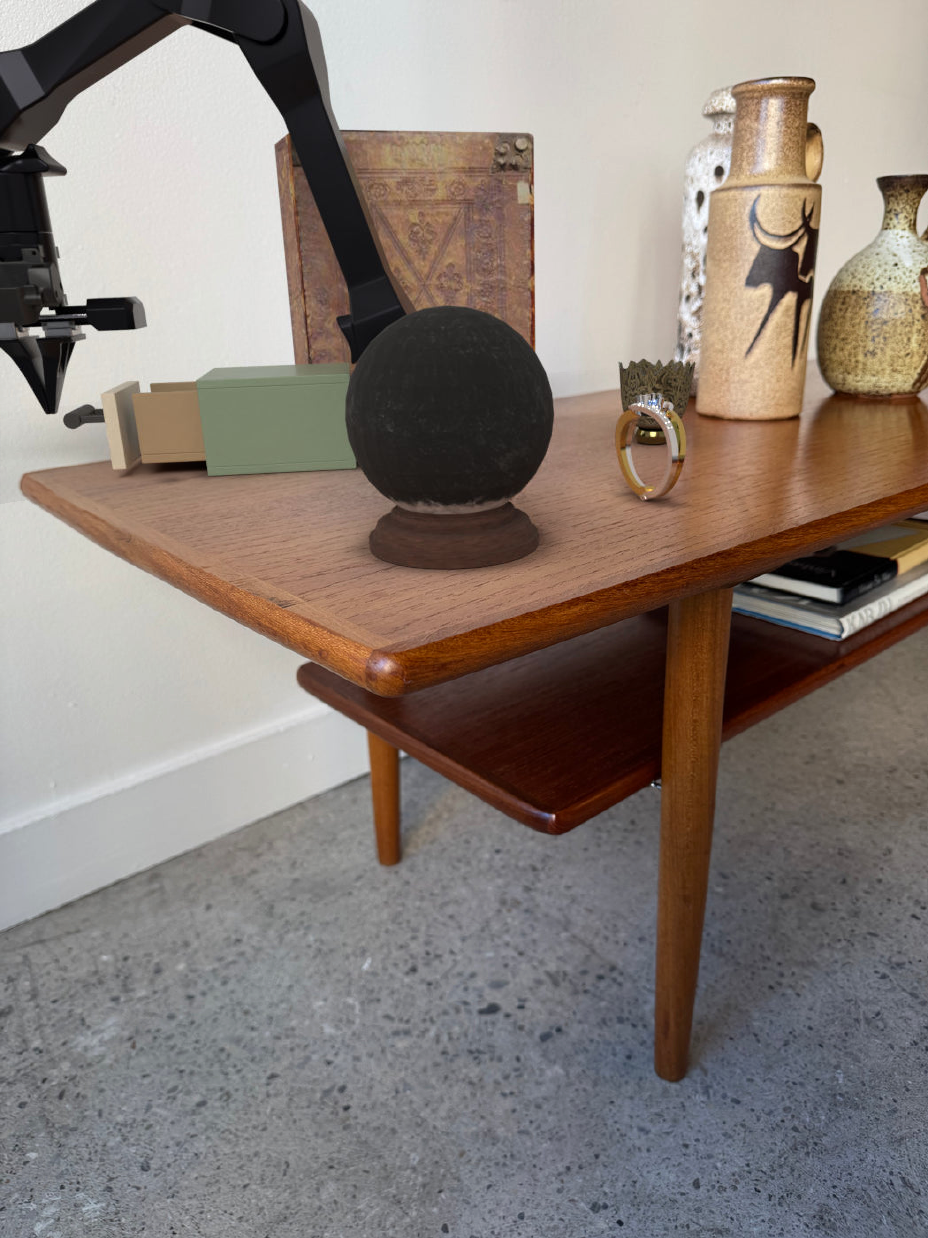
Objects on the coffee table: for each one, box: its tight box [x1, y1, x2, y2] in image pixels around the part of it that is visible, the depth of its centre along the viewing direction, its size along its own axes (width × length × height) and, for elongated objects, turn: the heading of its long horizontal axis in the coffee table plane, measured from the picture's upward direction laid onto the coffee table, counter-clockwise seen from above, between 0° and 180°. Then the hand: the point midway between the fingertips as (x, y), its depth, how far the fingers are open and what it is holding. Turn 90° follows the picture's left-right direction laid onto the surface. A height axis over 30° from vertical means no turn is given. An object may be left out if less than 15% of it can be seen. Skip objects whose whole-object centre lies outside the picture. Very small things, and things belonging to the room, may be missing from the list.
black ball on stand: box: [345, 306, 555, 570], centre depth 59 cm, size 13×13×15 cm
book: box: [273, 129, 536, 375], centre depth 100 cm, size 25×9×30 cm, turn 110°
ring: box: [614, 393, 687, 501], centre depth 70 cm, size 7×3×8 cm, turn 23°
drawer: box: [62, 380, 206, 471], centre depth 88 cm, size 17×10×7 cm, turn 97°
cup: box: [618, 358, 696, 445], centre depth 93 cm, size 8×7×8 cm
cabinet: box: [195, 363, 358, 477], centre depth 89 cm, size 14×12×9 cm
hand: (51, 413), depth 86 cm, fingers closed
